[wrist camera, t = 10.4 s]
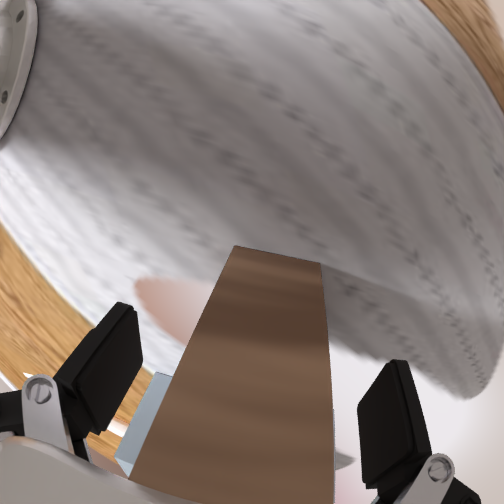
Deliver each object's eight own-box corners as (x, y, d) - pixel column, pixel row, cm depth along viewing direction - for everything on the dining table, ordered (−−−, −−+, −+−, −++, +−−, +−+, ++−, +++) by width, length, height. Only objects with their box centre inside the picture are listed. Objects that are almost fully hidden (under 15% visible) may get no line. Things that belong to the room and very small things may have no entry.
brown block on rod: (213, 241, 13) (61, 503, 3) (340, 267, 13) (376, 562, 2) (198, 436, 22) (164, 544, 12) (262, 450, 22) (241, 561, 11)
